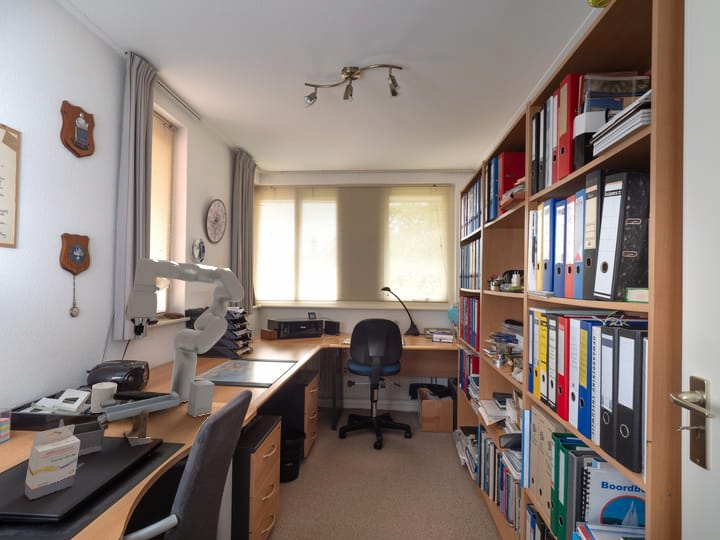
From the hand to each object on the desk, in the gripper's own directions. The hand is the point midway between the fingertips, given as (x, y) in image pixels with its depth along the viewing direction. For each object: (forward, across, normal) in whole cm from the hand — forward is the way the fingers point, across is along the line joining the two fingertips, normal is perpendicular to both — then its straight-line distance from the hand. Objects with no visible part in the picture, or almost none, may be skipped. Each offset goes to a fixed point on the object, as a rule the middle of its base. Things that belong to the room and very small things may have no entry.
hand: (138, 334), depth 132 cm
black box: (+32, -5, -2) cm, 32 cm away
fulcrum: (+31, +1, +23) cm, 39 cm away
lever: (+22, +1, +19) cm, 29 cm away
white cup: (+31, +7, -8) cm, 33 cm away
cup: (+31, +17, +23) cm, 42 cm away
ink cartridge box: (+31, +24, +42) cm, 58 cm away
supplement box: (+31, -23, +12) cm, 41 cm away
